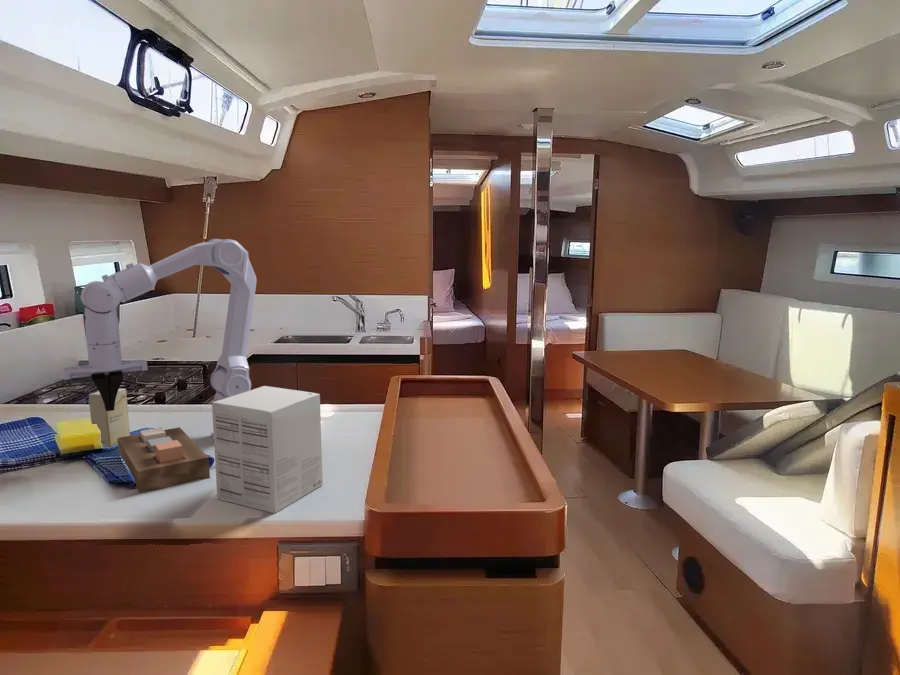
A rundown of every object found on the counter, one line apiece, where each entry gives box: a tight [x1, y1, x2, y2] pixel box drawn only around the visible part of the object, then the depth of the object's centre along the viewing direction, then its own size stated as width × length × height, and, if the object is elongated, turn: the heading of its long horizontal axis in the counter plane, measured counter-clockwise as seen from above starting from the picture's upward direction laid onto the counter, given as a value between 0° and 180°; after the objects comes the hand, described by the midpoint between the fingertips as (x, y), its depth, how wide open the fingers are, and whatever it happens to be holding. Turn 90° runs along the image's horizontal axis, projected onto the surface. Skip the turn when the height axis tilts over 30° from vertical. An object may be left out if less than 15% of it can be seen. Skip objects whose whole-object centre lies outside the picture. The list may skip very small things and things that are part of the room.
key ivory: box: [139, 427, 166, 443], centre depth 125 cm, size 4×4×4 cm
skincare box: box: [88, 387, 131, 447], centre depth 131 cm, size 6×4×12 cm
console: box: [117, 426, 211, 494], centre depth 120 cm, size 12×22×4 cm, turn 37°
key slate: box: [147, 436, 173, 453], centre depth 120 cm, size 4×4×4 cm
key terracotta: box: [154, 440, 183, 464], centre depth 114 cm, size 4×4×4 cm
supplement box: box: [211, 385, 324, 514], centre depth 107 cm, size 13×13×18 cm
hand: (109, 409), depth 122 cm, fingers closed
